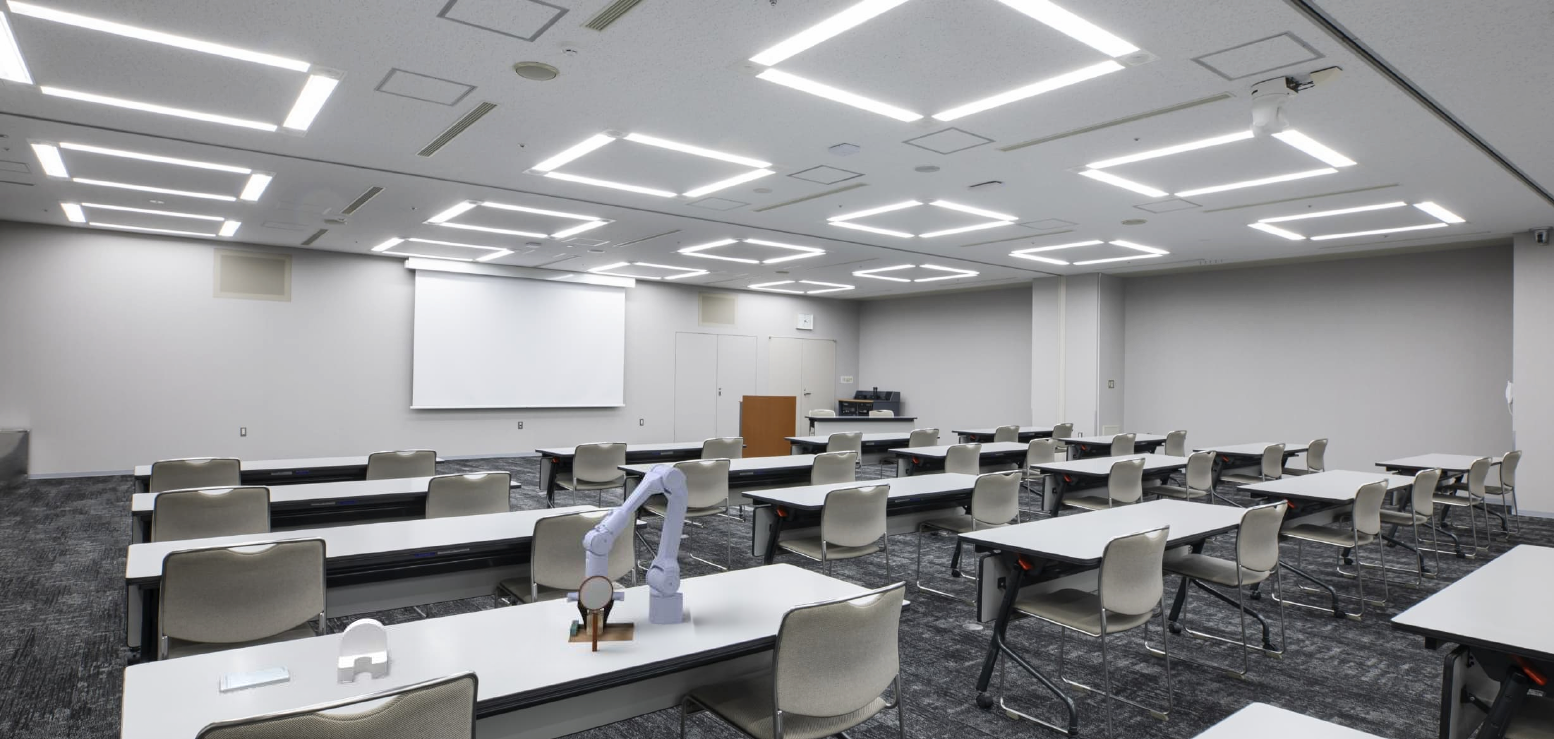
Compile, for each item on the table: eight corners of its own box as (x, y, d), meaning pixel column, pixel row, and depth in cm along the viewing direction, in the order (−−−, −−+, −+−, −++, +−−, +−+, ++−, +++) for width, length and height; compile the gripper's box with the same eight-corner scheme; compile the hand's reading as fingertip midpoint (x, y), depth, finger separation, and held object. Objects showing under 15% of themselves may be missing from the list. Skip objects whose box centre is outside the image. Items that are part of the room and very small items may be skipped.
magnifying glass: (577, 660, 185) (579, 577, 185) (575, 658, 187) (577, 576, 187) (612, 655, 189) (614, 574, 189) (610, 653, 191) (612, 572, 191)
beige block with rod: (604, 625, 206) (604, 607, 206) (601, 638, 196) (602, 618, 196) (588, 626, 205) (589, 607, 205) (585, 638, 196) (586, 619, 196)
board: (633, 631, 206) (634, 618, 206) (632, 646, 196) (632, 632, 196) (572, 633, 204) (573, 619, 204) (567, 648, 193) (568, 634, 193)
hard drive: (286, 664, 176) (219, 675, 168) (289, 676, 169) (220, 689, 162) (286, 671, 176) (219, 683, 168) (289, 684, 169) (220, 696, 162)
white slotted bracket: (337, 685, 169) (338, 636, 169) (341, 656, 185) (342, 612, 185) (386, 678, 173) (387, 630, 173) (386, 651, 189) (387, 607, 189)
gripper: (566, 581, 196) (564, 634, 196) (624, 580, 198) (622, 632, 198) (569, 573, 203) (568, 625, 203) (625, 573, 205) (623, 623, 205)
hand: (595, 628), depth 201 cm, fingers closed on beige block with rod, 4 cm apart
